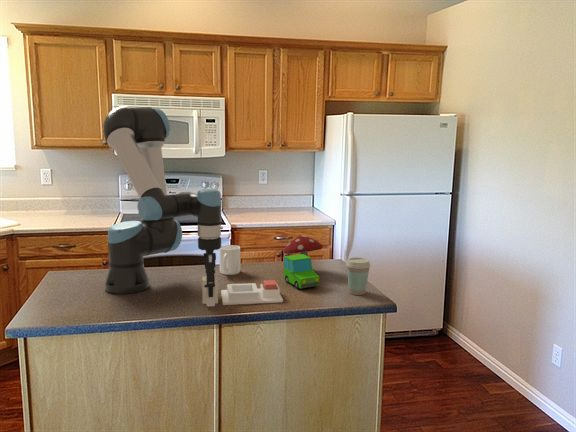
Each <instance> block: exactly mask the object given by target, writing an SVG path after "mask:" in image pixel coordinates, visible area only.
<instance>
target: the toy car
mask: <svg viewBox="0 0 576 432" xmlns="http://www.w3.org/2000/svg"><path fill="white" fill-rule="evenodd" d="M308 256H309V255H308ZM308 256H306V255H304V254H300V253H298V254H291V255H285V256H284V258H283V280H285V282H286V284H292V285H294V288H295V289H296V290H300V289H305V288H316V287H319V286H320V276H319V275H318V274H317V273H316V272H315V268H314V269H313V264H312V263H313V262H312V258H311V257H310V256H309V257H308Z"/></svg>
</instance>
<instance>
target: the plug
mask: <svg viewBox="0 0 576 432" xmlns="http://www.w3.org/2000/svg"><path fill="white" fill-rule="evenodd" d="M201 278H202V279H201V280H202V285H201V286H202V288H201V290H202V292H201V293H202V305H205V304H206V287H204V285H206V284H207V276H206V275H202V277H201ZM211 283H212V282H211ZM215 304H219V280H218V275H215Z"/></svg>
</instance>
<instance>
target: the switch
mask: <svg viewBox="0 0 576 432" xmlns="http://www.w3.org/2000/svg"><path fill="white" fill-rule="evenodd" d="M262 284H263V286H264V289H265V290H272V289H277V285H278V283H277V282H276V279H269V280H268V279H266V280H265V279H264V280H263V283H262Z"/></svg>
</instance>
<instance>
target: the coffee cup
mask: <svg viewBox="0 0 576 432" xmlns="http://www.w3.org/2000/svg"><path fill="white" fill-rule="evenodd" d="M345 265H346V269H347V271H346V272H347V273H346V274H347V283H348V293H349V294H350V295H353V296H354V295H355V296H363V295H365V294H366V291H367V285H368V279H369V272H370V268H371V263H370V260H369V259H367V258H365V257H349V258H348V259H347V261H346V264H345Z"/></svg>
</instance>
